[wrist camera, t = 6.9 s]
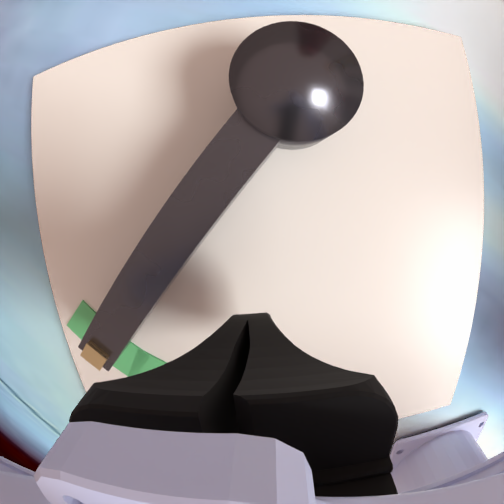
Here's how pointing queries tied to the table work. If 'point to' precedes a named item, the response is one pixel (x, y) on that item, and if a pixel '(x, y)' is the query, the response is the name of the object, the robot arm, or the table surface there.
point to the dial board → (274, 203)
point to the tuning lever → (232, 163)
